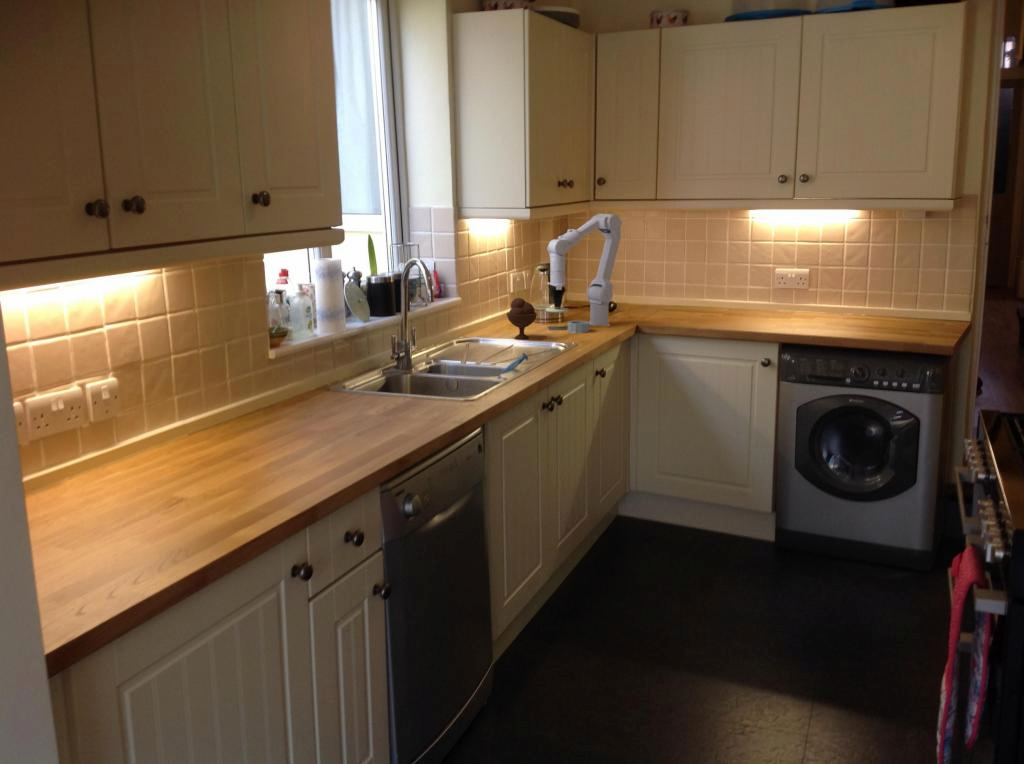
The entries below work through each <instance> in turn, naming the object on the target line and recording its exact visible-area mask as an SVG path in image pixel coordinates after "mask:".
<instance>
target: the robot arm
mask: <svg viewBox="0 0 1024 764" xmlns="http://www.w3.org/2000/svg"><path fill="white" fill-rule="evenodd" d="M622 223H623V222H622V219H621V218H620V216H619V214H616V213H602V212H600V213H596V215H594V216H592V217H591V219H589V220H588V221H586V222H585V223H584V224H583V225H581V226H580V227H578V228H577V229H574V228H572V229H571V228H569V229H567V232H566V233H564V234H562V235H559V236H558V237H557V239H555V238H554V239H551V240H550V242H549V243H548V246H547V247H546V249H547V252H548V254H549V260H550V262H549V264H550V265H549V266H550V267H549V269H550V270H549V272H550V273H549V274H550V275H549V277H550V278H549V279H550V282H549V281H548V282H547V283H546V284H547V285H548V286H549V285H550V286H552V287H549V289H550V291H551V294H552V300H553V304H555V307H560V308H562V307H561V306H562V302H563V297H564V294H565V293H566V292H565V291H566V288H565V286H566V284H567V283H566V255H567V254H568V253H569V250H570V249H571V248H573V247H574V246H575V245H578V244H579V243H580V242H581V241H582V237H584V236H587V235H588V234H589V233H591V232H593V231H595V230H596V229H597V230H598V231H599V232H600V233H601V234H602V235H603V236H604V238H605V241H604V246H603V250H602V252H601V253H602V254H601V257H600V260H599V264H598V270H597V273H596V277H595V278H593V279H592V281H590V284H589V287H588V288H587V289H586V297H587V299H588V300H589V305H590V309H589V314H590V315H589V318H590V320H589V321H588V322H589V326H607V327H611V324H610V323H609V304H610V302H611V301H612V299H613V288H614V286H613V283H612V282H611V277H612V272H613V269H614V265H615V261H616V258H617V253H618V250H619V246H620V242H621V237H622V235H621V227H622Z"/></svg>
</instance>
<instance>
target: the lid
mask: <svg viewBox="0 0 1024 764" xmlns="http://www.w3.org/2000/svg"><path fill="white" fill-rule="evenodd" d="M553 304H554V303H553ZM553 306H554V307H546V308H545V312H547V313H552V314H553V313H554V314H555V313H557V314H560V313H561V314H563V313H568V312H570V309H569V308H566V307H555V304H554V305H553Z"/></svg>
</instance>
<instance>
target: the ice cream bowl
mask: <svg viewBox="0 0 1024 764" xmlns="http://www.w3.org/2000/svg"><path fill="white" fill-rule="evenodd" d="M537 314H538V313H537V312H536V311H535V307H534V305H533V304H532V303H530V302H528V301H525V299H524V298H522V297H516V298H514V299H512V301H511V302H510V310H509V312H507V313H506V316H507V320H508V321H509V322H510V323H511V324H512V325H513V326H515V327H516V328H518V329H519V333H518V335H516V336H514V340H518V341H523V340H524V341H525V340H529V339H530V336H528V335H526V333H525V328H527V327H529V326H531V325H532V324H533V323H534V322H535V321H536V318H537V316H538V315H537Z"/></svg>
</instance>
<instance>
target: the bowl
mask: <svg viewBox="0 0 1024 764" xmlns="http://www.w3.org/2000/svg"><path fill="white" fill-rule="evenodd" d="M589 322H590V321H585V320H569V321H567V332H568V333H572V334H582V333H583V334H584V333H585V334H586V333H589V332H590V324H589Z"/></svg>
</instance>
